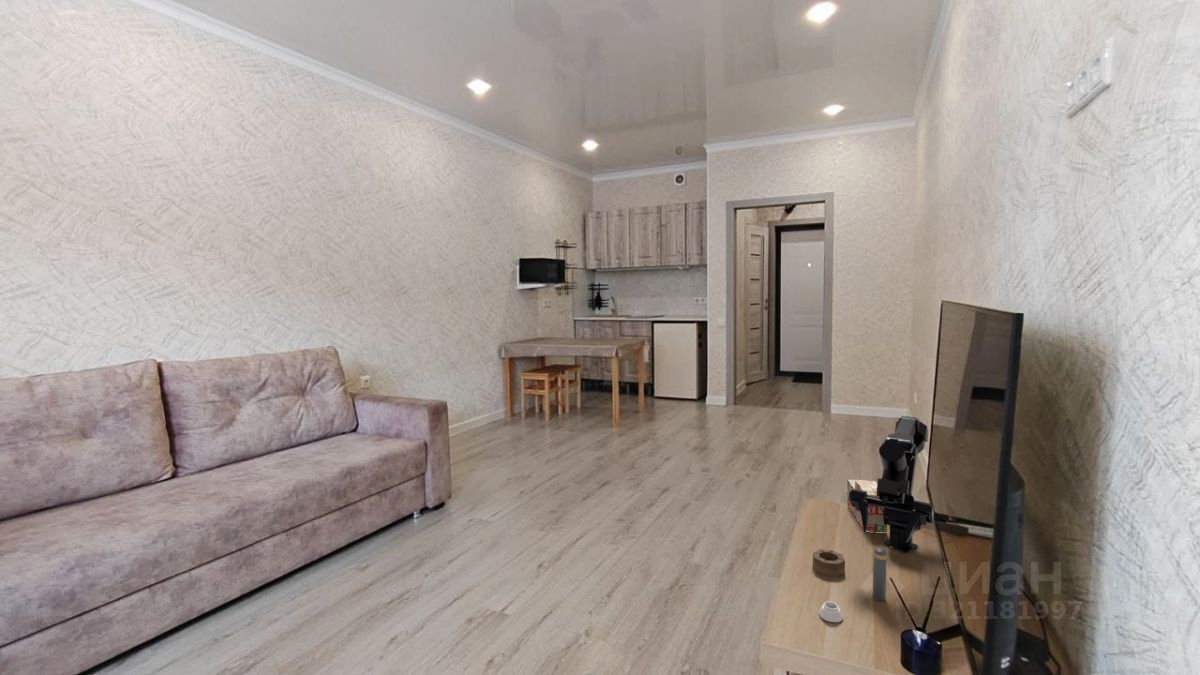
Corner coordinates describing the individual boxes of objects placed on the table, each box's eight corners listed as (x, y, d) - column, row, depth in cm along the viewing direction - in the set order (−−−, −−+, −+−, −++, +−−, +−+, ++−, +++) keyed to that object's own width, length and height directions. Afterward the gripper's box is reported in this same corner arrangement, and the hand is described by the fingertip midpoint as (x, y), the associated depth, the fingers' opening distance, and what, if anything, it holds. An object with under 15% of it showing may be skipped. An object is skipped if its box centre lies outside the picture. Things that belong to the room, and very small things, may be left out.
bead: (824, 559, 148) (824, 547, 148) (849, 570, 142) (849, 558, 142) (807, 567, 144) (807, 554, 144) (832, 579, 138) (832, 566, 138)
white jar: (835, 610, 125) (815, 611, 125) (835, 598, 125) (815, 599, 125) (847, 623, 120) (825, 624, 120) (847, 610, 120) (825, 612, 120)
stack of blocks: (846, 505, 184) (847, 470, 183) (866, 506, 183) (867, 471, 182) (865, 533, 163) (866, 494, 162) (887, 534, 162) (888, 495, 161)
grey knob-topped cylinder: (876, 592, 131) (877, 545, 130) (888, 598, 129) (889, 550, 128) (869, 597, 130) (870, 549, 129) (881, 602, 127) (882, 554, 126)
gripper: (850, 458, 141) (839, 513, 133) (933, 472, 130) (926, 532, 122) (857, 479, 148) (846, 532, 140) (936, 493, 137) (929, 552, 129)
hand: (885, 536), depth 133 cm, fingers open, 9 cm apart
